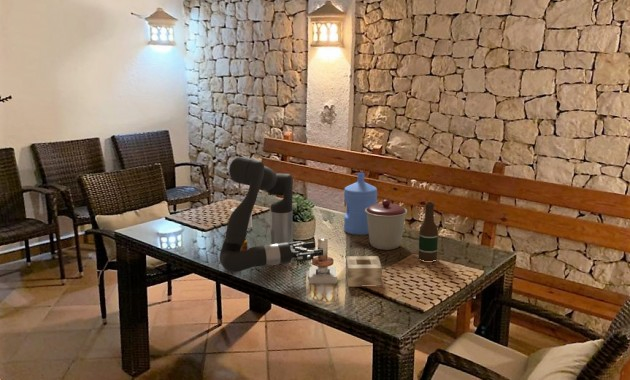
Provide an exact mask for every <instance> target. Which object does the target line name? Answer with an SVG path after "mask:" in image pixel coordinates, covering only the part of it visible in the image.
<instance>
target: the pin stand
mask: <svg viewBox="0 0 630 380" xmlns="http://www.w3.org/2000/svg"><path fill="white" fill-rule="evenodd" d="M308 271H309V276H308V277H309V281H308V283H309V285H310V284H337V283H338V281H337V280H338V273H337V267H336V266H328V274H323V275H318V267H317V266H310V267H309V270H308Z"/></svg>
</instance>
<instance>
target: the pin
mask: <svg viewBox="0 0 630 380" xmlns="http://www.w3.org/2000/svg"><path fill="white" fill-rule="evenodd" d="M328 248H329V247H328V238H325V237H320V238H318V239H317V250H318V249H322V250H323V255H321V256H314V257H313V260H311V264H312V266H313V267H318V275H323V274H328V267H332V266H333V265H334V258H333V257H330V256H329V254H328V253H329V251H328V250H329V249H328Z"/></svg>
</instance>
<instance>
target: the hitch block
mask: <svg viewBox="0 0 630 380" xmlns="http://www.w3.org/2000/svg"><path fill="white" fill-rule="evenodd" d="M345 258H346V259H345V262H346V263H345V268H346V273H345V274H346V275H345V276H346V280H347V287H363V286H362V285H382V283H383V282H382V279H383V277H382V275H383V268H382V264H381V261H380V258H379V256H378V255H374V256H373V255H366V256H365V255H361V256H359V255H354V256H351V255H349V256H346V257H345ZM382 286H383V285H382Z"/></svg>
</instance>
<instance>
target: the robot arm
mask: <svg viewBox="0 0 630 380" xmlns="http://www.w3.org/2000/svg"><path fill="white" fill-rule="evenodd" d="M229 176H230V179H231V180H232V181H233V182H234V183H237V184H242V185H246V186H249V187H248V191H247V194H246V196H245V197H244V199H243V200H242V201H241V202H240V203H239V204H238V206H236V207H237V208H236V209H235V210H234V211H233V213H232V214H231V213H230V216H229V218H228V221H227V227H226V230H225V231H226V232H225V238H224V241H223V244H222V246H221V249H220V253H219V262H220V264H221V266H222V267H223V269H224V270H225V271H227V272H229V273H231V272H232V273H236V272H242V271H245V270H248V269H251V268H256V267H265V266H276V265H284V264H289V263H291V261H292V259H296V261H297V262H302V261H303V262H304V261H312V260H313V258H315V257H318V256H321V255H323V250H322V249H318V248H317V249H315V248H316V242H315V241H309V242H304V241H302V240H298V241H294V231H293V230H294V228H293V227H294V226H293V224H294V223H293V222H294V221H293V190H294V189H293V188H294V181H293V176H292V175H291V173H276V172H275V170H273V169H272V168H270V167H268V166H266V165H265V164H264V162H263V161H262V160H260V159H255V158H250V157H249V158H248V157H244V156H238V157H236V158H234V159H233V160H232V161H231V163H230V165H229ZM259 191H262V192H266V193H268V194H269V195H271V196H283V198H282V199H281V200H278V201H275V202H272V203H271V204H270V243H269V244H265V245H258V246H252V247H249V248H247V249H248V250H246V251H241V252H240V250H241V246H242V244H243V243H244V242H245V239H246V240H247V235H248V234H247V233H248V232H247V229H248V224H249V220H250V216H251V213H252V214H253V210H254V207H255V203H256V201H257V198H258V195H259ZM312 249H313V250H312Z"/></svg>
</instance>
